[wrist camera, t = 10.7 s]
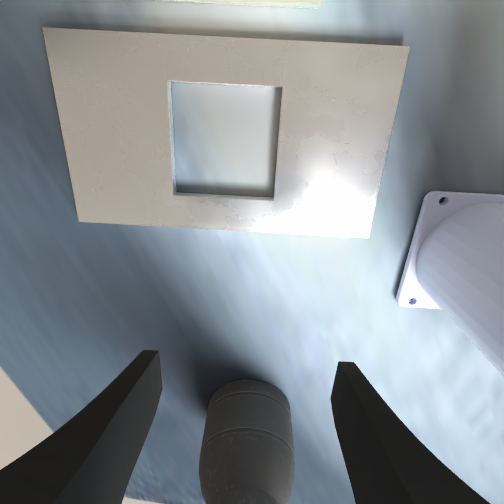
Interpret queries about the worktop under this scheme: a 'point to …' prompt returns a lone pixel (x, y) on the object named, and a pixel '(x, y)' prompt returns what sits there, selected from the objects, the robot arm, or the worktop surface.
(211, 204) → the rail plate
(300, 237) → the worktop surface
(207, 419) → the flashlight
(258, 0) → the tile
